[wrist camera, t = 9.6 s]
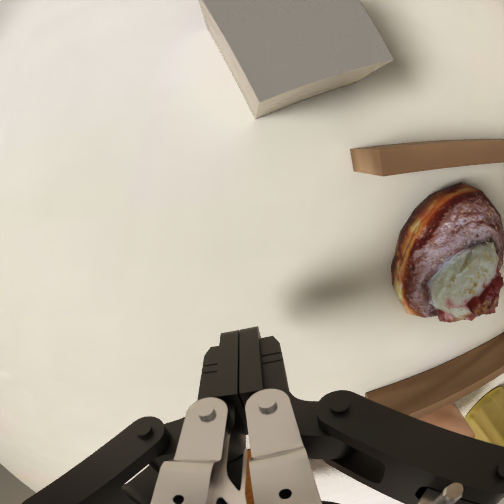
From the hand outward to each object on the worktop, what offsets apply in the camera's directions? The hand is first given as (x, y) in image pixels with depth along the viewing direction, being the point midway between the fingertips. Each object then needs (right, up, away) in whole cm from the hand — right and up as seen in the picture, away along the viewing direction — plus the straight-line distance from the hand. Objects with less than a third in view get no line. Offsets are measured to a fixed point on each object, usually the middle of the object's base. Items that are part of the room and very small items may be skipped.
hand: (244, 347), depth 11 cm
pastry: (+11, +4, +2) cm, 12 cm away
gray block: (+2, +13, -1) cm, 13 cm away
